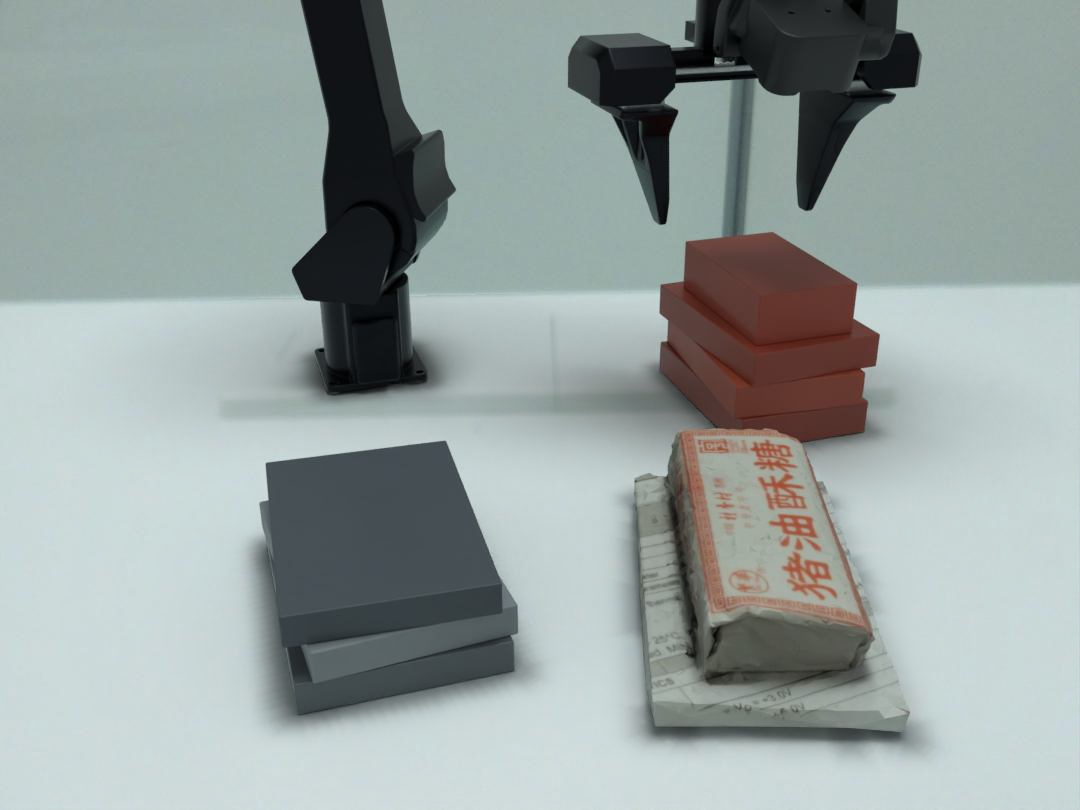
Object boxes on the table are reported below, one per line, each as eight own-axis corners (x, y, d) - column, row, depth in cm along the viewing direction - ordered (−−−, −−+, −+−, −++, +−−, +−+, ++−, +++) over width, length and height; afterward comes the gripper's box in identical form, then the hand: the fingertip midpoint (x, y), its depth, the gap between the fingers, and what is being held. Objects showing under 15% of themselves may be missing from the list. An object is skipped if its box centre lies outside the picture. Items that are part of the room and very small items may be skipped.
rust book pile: (651, 368, 76) (654, 282, 73) (772, 351, 78) (779, 267, 75) (736, 455, 65) (743, 357, 62) (873, 432, 67) (886, 337, 65)
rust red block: (682, 287, 72) (685, 241, 71) (769, 276, 74) (772, 231, 73) (756, 346, 64) (760, 295, 62) (852, 333, 65) (858, 283, 64)
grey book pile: (261, 543, 57) (251, 464, 55) (449, 512, 60) (445, 435, 58) (291, 719, 46) (280, 626, 44) (523, 671, 48) (521, 582, 46)
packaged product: (633, 416, 59) (831, 418, 58) (631, 498, 61) (821, 500, 60) (652, 633, 42) (926, 637, 42) (648, 735, 45) (908, 740, 44)
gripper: (647, -62, 50) (634, 278, 57) (1009, -70, 55) (957, 243, 62) (566, -78, 60) (563, 215, 67) (881, -84, 65) (848, 189, 72)
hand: (733, 216), depth 66 cm, fingers open, 9 cm apart
